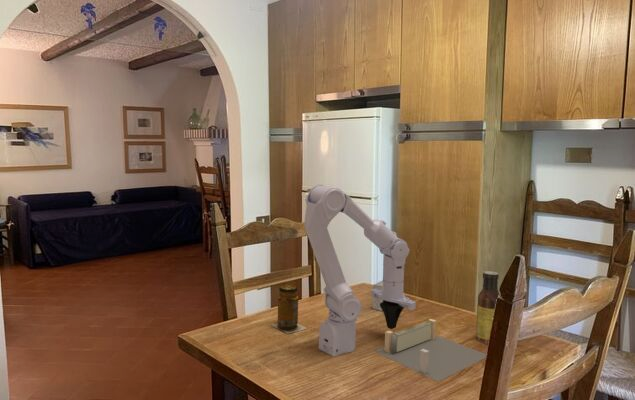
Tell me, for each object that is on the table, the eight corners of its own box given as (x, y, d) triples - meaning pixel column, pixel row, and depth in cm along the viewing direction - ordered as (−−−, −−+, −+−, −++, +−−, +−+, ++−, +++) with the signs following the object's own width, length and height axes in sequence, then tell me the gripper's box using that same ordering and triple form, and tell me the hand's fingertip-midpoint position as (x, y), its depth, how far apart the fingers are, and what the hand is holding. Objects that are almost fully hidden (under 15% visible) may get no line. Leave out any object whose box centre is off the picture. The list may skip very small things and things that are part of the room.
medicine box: (383, 312, 151) (384, 286, 151) (372, 309, 154) (373, 283, 153) (395, 305, 158) (396, 281, 157) (383, 303, 160) (384, 278, 159)
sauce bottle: (501, 348, 125) (505, 276, 123) (477, 345, 126) (481, 275, 124) (496, 338, 131) (501, 270, 129) (473, 336, 133) (477, 269, 130)
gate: (393, 353, 118) (394, 336, 117) (390, 351, 119) (390, 334, 118) (430, 339, 128) (431, 322, 127) (426, 337, 129) (427, 321, 128)
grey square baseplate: (437, 384, 105) (439, 359, 104) (373, 353, 120) (374, 331, 119) (489, 358, 119) (491, 336, 118) (426, 333, 134) (427, 313, 133)
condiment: (290, 320, 143) (291, 282, 141) (307, 328, 136) (308, 289, 135) (270, 325, 138) (271, 286, 137) (287, 334, 131) (287, 294, 130)
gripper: (423, 283, 124) (421, 332, 125) (383, 272, 135) (382, 316, 136) (406, 288, 119) (404, 338, 121) (366, 276, 130) (365, 322, 132)
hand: (391, 327), depth 128 cm, fingers closed
